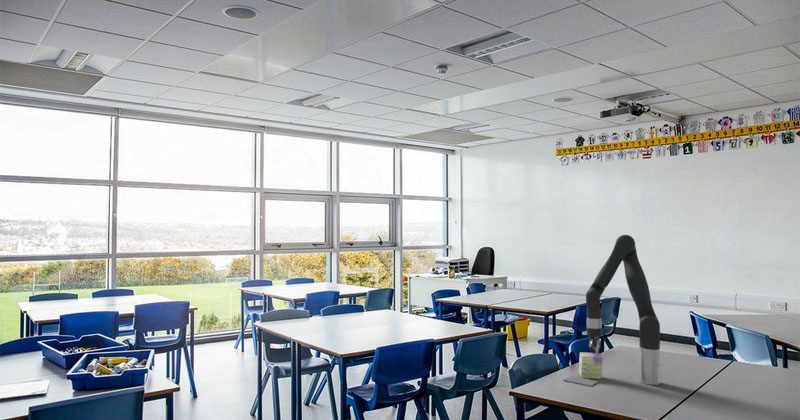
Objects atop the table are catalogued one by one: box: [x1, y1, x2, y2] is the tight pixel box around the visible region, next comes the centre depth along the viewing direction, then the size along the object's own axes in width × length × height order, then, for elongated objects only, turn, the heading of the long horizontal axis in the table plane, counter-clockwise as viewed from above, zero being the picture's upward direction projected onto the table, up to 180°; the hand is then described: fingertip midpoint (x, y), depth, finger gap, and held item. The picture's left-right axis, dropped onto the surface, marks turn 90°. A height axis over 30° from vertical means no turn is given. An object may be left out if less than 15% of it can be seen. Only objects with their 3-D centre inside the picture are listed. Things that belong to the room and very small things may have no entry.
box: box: [578, 351, 604, 380], centre depth 275 cm, size 10×6×12 cm, turn 84°
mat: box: [563, 375, 600, 388], centre depth 267 cm, size 14×10×1 cm
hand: (595, 359), depth 279 cm, fingers closed
